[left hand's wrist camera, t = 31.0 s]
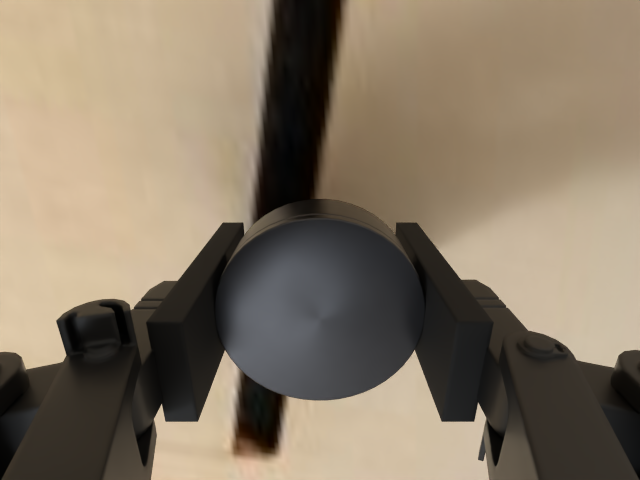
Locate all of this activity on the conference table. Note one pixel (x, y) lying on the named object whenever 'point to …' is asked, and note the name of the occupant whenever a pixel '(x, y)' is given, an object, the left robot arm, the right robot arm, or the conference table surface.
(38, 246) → the conference table surface
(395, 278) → the lid
